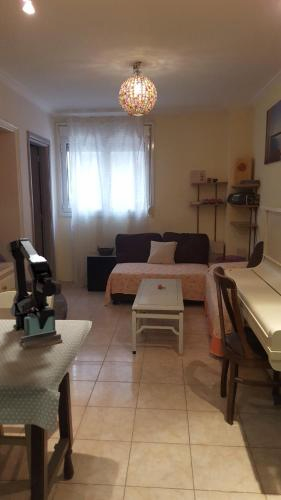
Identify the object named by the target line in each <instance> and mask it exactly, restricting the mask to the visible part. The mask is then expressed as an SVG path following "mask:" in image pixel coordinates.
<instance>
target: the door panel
mask: <svg viewBox="0 0 281 500" xmlns="http://www.w3.org/2000/svg"><path fill="white" fill-rule="evenodd" d="M24 326H25V329H24V336H30V335H35V334H40V333H45V332H49V331H54V330H56V315H55V316H53V317H49V318H48V320H47V322H46V324H45V326H44V328H43V329H40V326H39V320H38V317H36V316H34V315H31V316H29V317H25V318H24Z"/></svg>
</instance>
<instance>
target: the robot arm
mask: <svg viewBox="0 0 281 500" xmlns="http://www.w3.org/2000/svg"><path fill="white" fill-rule="evenodd" d="M6 250H7V253H8V256H9V258H10V259H11V260H12V265H13V272H14V280H15V281H14V284H15V295H14V297H13V299H12V302H13V303H12V305H11V307H10V315H11V316H13V317H15V324H13V327H14V328H15V329H16V331H18V330H19V331H20V330H25V326H24V318H25V317H30V316H29V315H31V314H33V316H36V317H38V320H39V326H40V329H43V328H44V326H45V324H46V322H47V320H48V318H49V317H53V316H55V317H56V310H55V309H54V308H52V307H50V306H49V305H50V304H49V303H48V298H49V297H50V298H51V297H53V296H54V295H55V294H56V293H57V285H56V284H55V283H54V282H52V278H53V271H52V269H51V266H50V263H49V262H48V260H47V259H45V257H43V256H41V255H39V254H38V252H37V251H36V249H35V248H34V246H33V245H32V243H31V240H30V238H28V237H24V238H18V239H15V240H12V241H9V242H8V243H7V244H6ZM25 260H26V261H27V263H28V265H27V271H28V274H29V276H30V279H31V293H30V294H29V292H28V286H27V278H26V277H27V276H26V275H27V274H26V266H25Z"/></svg>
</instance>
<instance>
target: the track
mask: <svg viewBox="0 0 281 500" xmlns="http://www.w3.org/2000/svg"><path fill="white" fill-rule="evenodd" d="M19 339H20V340H19V341H18V342H19V344H20V345H21V346H22V347H23V348H24V350H25V349H26V350H25V351H29V349H30V350H33V349H38V348H42V347H46V346H52V345H56V344H60V343H63V342H64V340H63V338H62V333H58V334H57V330H56V329H55V330H54V331H49V332H45V333H40V334H35V335H30V336H26V335H24V336H21V337H20V338H19Z"/></svg>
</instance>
